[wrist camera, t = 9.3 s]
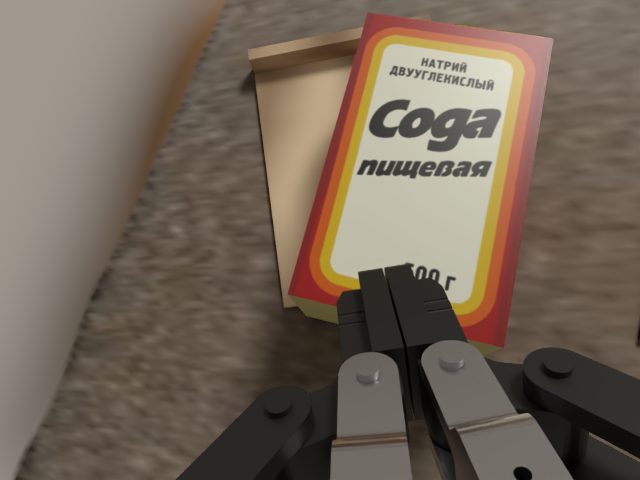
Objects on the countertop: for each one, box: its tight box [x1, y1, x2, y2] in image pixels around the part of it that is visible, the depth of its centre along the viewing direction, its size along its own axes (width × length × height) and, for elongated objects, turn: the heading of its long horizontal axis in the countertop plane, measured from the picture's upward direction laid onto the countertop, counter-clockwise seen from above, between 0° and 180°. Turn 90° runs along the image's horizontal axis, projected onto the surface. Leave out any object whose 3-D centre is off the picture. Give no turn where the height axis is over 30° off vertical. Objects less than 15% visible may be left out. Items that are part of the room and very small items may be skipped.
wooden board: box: [248, 14, 432, 308], centre depth 30 cm, size 12×17×2 cm
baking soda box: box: [287, 13, 553, 355], centre depth 27 cm, size 10×6×16 cm
